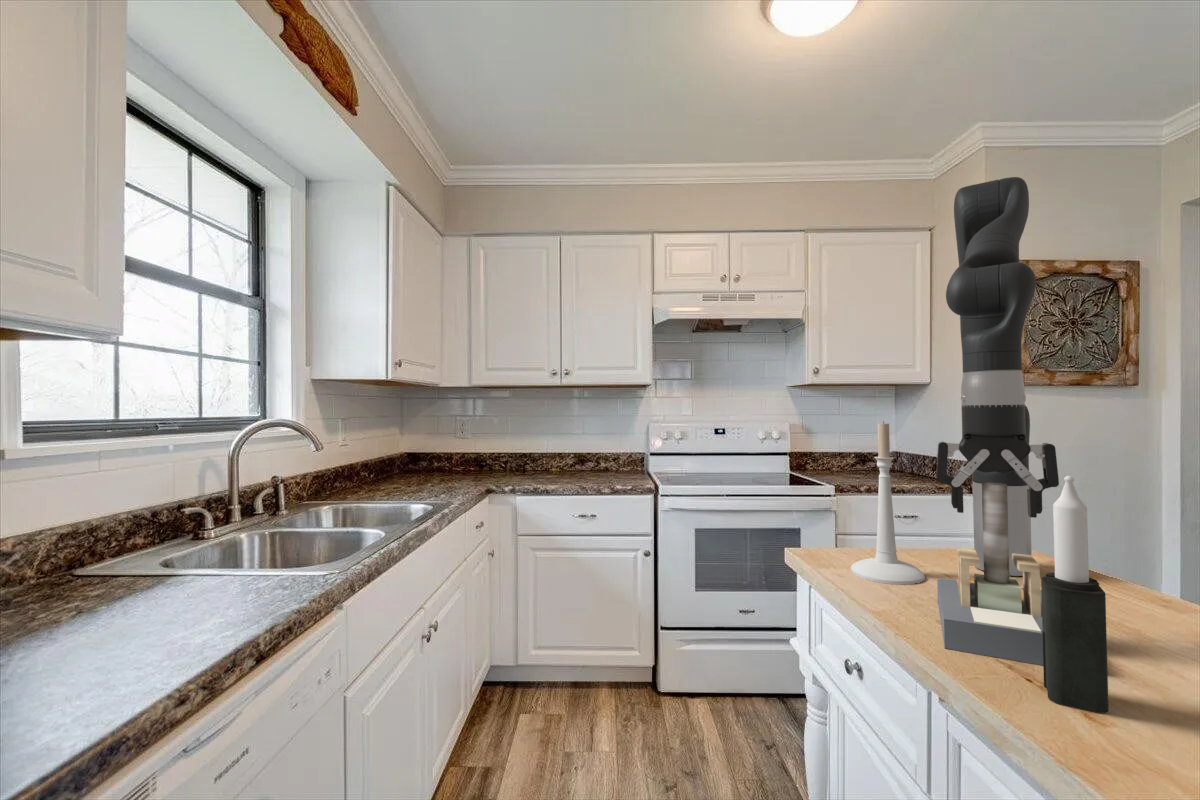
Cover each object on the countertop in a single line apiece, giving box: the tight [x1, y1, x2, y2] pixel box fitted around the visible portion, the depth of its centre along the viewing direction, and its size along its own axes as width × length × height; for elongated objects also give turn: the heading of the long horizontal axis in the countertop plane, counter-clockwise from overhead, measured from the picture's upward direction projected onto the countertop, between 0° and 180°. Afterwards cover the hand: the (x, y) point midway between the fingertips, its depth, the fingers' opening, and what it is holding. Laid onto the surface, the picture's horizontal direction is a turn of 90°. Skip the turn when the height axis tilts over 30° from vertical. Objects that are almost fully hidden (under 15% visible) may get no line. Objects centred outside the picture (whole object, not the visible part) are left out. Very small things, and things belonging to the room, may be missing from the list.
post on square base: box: [973, 483, 1022, 614], centre depth 79 cm, size 5×5×18 cm
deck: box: [936, 577, 1043, 666], centre depth 79 cm, size 20×14×4 cm
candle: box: [1040, 475, 1110, 714], centre depth 61 cm, size 5×5×25 cm
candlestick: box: [850, 420, 926, 586], centre depth 107 cm, size 13×13×30 cm
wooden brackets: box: [957, 547, 1041, 617], centre depth 79 cm, size 6×9×7 cm, turn 61°
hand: (995, 514), depth 79 cm, fingers open, 8 cm apart
